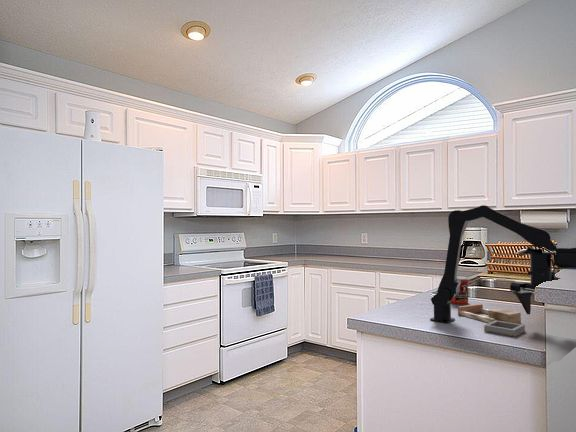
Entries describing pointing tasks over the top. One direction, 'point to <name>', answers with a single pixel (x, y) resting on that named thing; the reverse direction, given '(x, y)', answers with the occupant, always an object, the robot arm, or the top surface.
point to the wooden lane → (471, 309)
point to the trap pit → (504, 328)
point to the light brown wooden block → (505, 315)
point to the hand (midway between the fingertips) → (541, 317)
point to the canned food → (461, 292)
